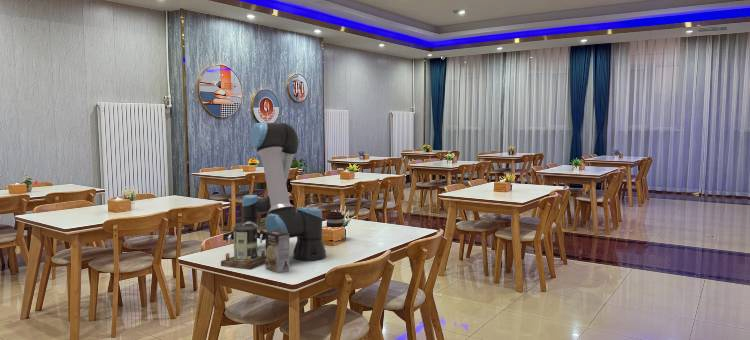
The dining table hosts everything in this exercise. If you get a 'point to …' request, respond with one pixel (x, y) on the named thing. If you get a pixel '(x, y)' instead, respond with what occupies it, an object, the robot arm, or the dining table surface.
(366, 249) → the dining table surface
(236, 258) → the coffee can
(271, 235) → the coffee box
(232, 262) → the standoff plate
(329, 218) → the coffee cup
